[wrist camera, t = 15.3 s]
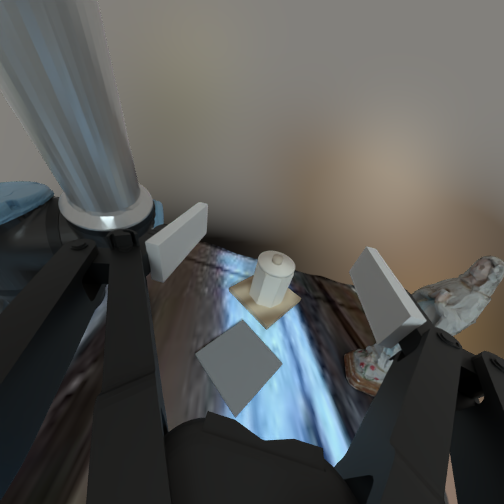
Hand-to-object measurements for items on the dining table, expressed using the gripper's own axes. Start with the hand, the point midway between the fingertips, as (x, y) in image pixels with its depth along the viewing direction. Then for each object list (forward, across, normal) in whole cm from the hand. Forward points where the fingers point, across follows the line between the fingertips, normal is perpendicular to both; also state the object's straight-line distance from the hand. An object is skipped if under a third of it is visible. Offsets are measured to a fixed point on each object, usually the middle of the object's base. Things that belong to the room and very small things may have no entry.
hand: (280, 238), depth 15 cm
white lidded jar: (+21, +3, -29) cm, 36 cm away
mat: (+4, 0, -30) cm, 30 cm away
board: (+21, +3, -30) cm, 37 cm away
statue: (+8, +25, -30) cm, 40 cm away
